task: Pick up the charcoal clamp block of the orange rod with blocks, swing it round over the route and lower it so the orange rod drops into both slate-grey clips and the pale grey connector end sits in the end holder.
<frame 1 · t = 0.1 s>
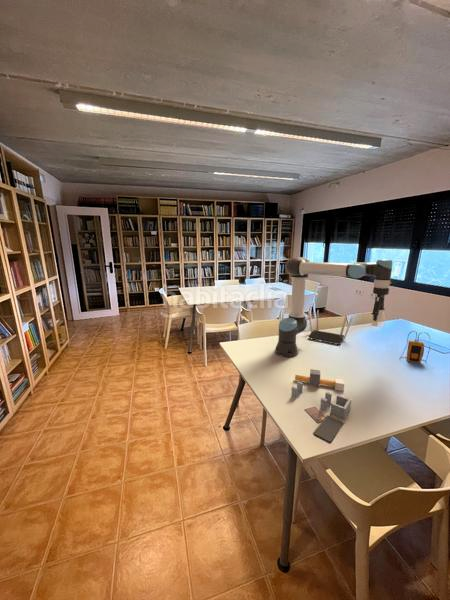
hand: (376, 323, 143), 28 cm above the table, fingers open, 13 cm apart
clip b: (325, 405, 113), on the table
orange rod with blocks: (314, 383, 132), on the table
clip a: (296, 394, 122), on the table
wireless router: (326, 338, 197), on the table
multimeter: (411, 359, 160), on the table
end holder: (336, 410, 110), on the table
smartphone: (328, 429, 99), on the table
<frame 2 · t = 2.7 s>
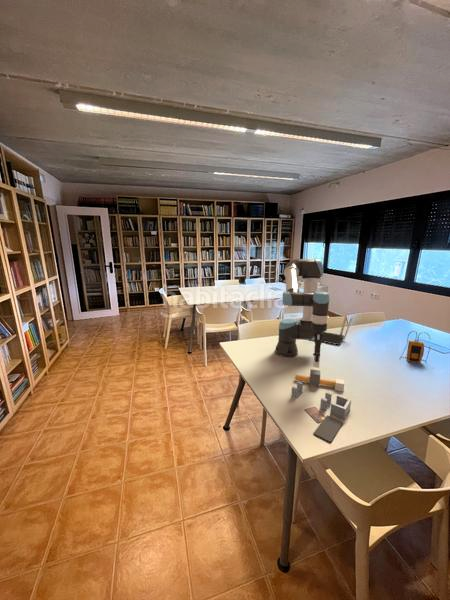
hand: (316, 361, 129), 13 cm above the table, fingers open, 13 cm apart
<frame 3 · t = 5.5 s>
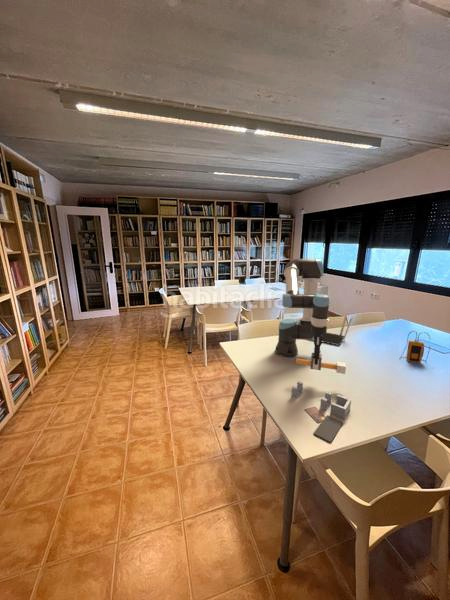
hand: (315, 366, 130), 10 cm above the table, fingers closed on orange rod with blocks, 5 cm apart
orange rod with blocks: (315, 367, 130), point 9 cm above the table, touching gripper
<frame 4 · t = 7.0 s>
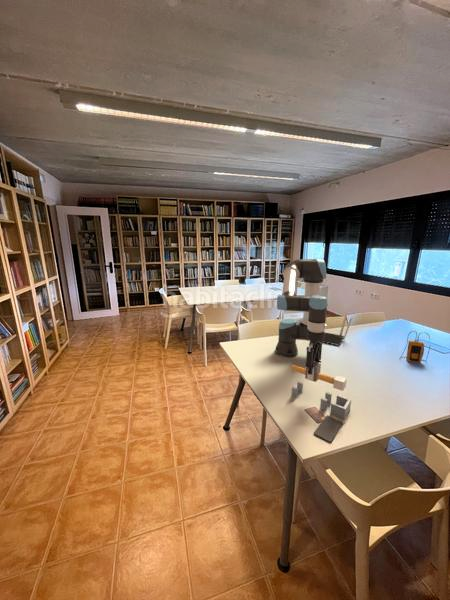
hand: (312, 377, 115), 12 cm above the table, fingers closed on orange rod with blocks, 5 cm apart
orange rod with blocks: (312, 378, 115), point 12 cm above the table, touching gripper
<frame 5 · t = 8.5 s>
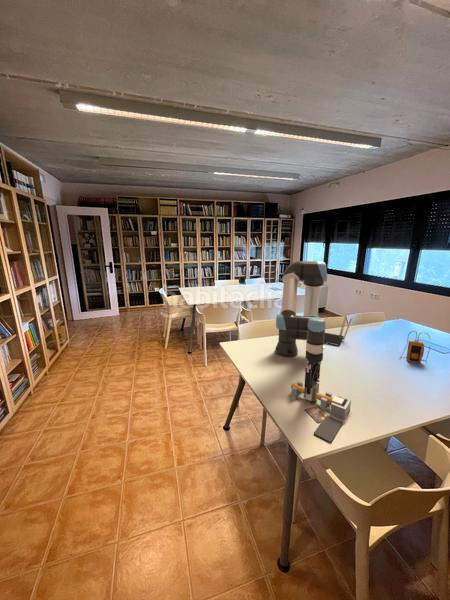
hand: (311, 396, 117), 2 cm above the table, fingers closed on orange rod with blocks, 5 cm apart
orange rod with blocks: (311, 397, 117), point 1 cm above the table, touching gripper
when the fingers open (1 cm above the table, at t = 9.0 s): orange rod with blocks stays where it is, resting on clip a, end holder.
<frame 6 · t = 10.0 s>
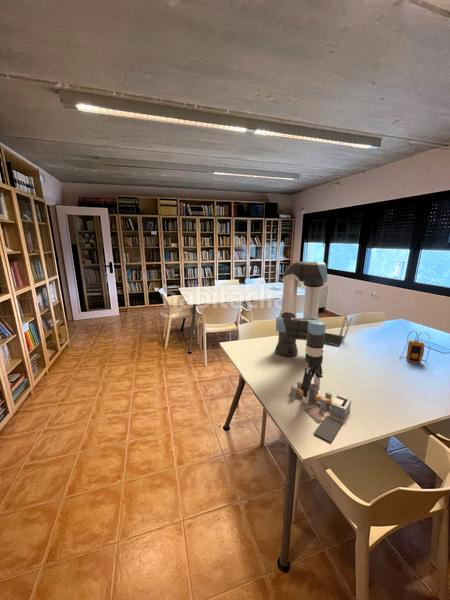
hand: (311, 395, 117), 2 cm above the table, fingers open, 13 cm apart
orange rod with blocks: (310, 399, 118), resting on clip a, end holder
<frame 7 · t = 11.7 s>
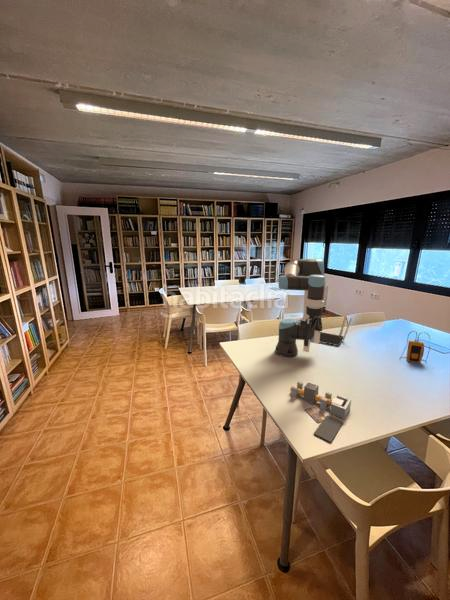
hand: (311, 346, 125), 22 cm above the table, fingers open, 13 cm apart
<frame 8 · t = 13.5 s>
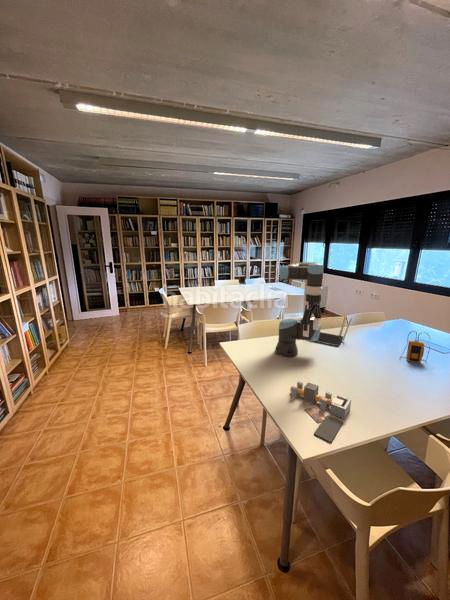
hand: (310, 333, 131), 27 cm above the table, fingers open, 13 cm apart
at the end: orange rod with blocks 0.1 cm from the target spot, on the table; orange rod with blocks tilted 2°; the gripper is holding nothing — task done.
